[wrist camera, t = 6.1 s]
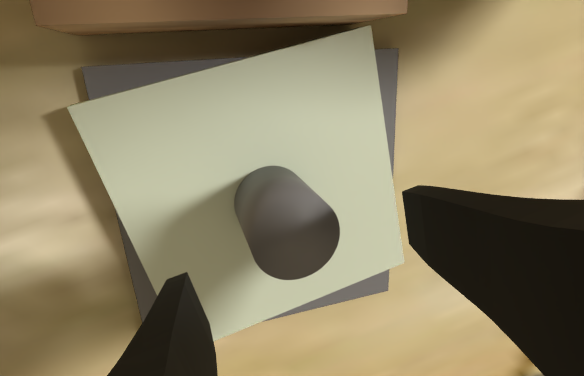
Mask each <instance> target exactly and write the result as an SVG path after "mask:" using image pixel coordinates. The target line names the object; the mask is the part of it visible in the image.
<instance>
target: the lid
mask: <svg viewBox="0 0 584 376" xmlns="http://www.w3.org/2000/svg"><path fill="white" fill-rule="evenodd" d="M67 108H68V110H69V112H70V115H71V117H72V119H73V121H74V123H75V125H76V127H77V129H78V131H79V133H80V135H81V138H82V140H83V142H84V144H85V146H86V148H87V150H88V152H89V154H90V156H91V158H92V161H93V163H94V165H95V167H96V169H97V171H98V173H99V175H100V177H101V179H102V181H103V184H104V186H105V188H106V190H107V192H108V194H109V196H110V198H111V200H112V202H113V204H114V207H115V209H116V211H117V213H118V215H119V217H120V219H121V221H122V223H123V225H124V227H125V230H126V232H127V234H128V236H129V238H130V240H131V242H132V244H133V246H134V248H135V250H136V252H137V255H138V257H139V259H140V261H141V263H142V265H143V267H144V269H145V271H146V273H147V275H148V278H149V280H150V282H151V284H152V286H153V288H154V290H155V292H156V294H157V296H158V294H159V292H160V290H161V289H162V287H163V285H164V283H165V281H166V280H167V279H169V278H172V277H174V276H177V275H180V274H182V273H185V272H187V273H188V275H189V277H190V280H191V282H192V284H193V287H194V289H195V291H196V293H197V296H198V298H199V300H200V303H201V305H202V307H203V309H204V312H205V314H206V316H207V319H208V321H209V323H210V327H211V332H212V337H213V341H216V340H218V339H221V338H223V337H225V336H228V335H230V334H233V333H235V332H238V331H240V330H242V329H245V328H247V327H250V326H252V325H255V324H257V323H259V322H262V321H264V320H267V319H269V318H272V317H274V316H276V315H279V314H281V313H284V312H286V311H289V310H291V309H293V308H296V307H298V306H301V305H303V304H306V303H308V302H310V301H313V300H315V299H318V298H320V297H323V296H325V295H327V294H330V293H332V292H335V291H337V290H340V289H342V288H344V287H347V286H349V285H352V284H354V283H357V282H359V281H362V280H364V279H366V278H369V277H371V276H374V275H376V274H379V273H381V272H383V271H386V270H388V269H391V268H393V267H396V266H398V265H400V264H403V263H404V257H403V249H402V242H401V235H400V228H399V221H398V214H397V207H396V200H395V192H394V185H393V178H392V171H391V164H390V157H389V150H388V143H387V135H386V128H385V121H384V114H383V107H382V100H381V93H380V86H379V79H378V71H377V64H376V57H375V50H374V43H373V36H372V29H371V25H369V26H363V27H359V28H355V29H351V30H347V31H344V32H340V33H336V34H333V35H329V36H325V37H321V38H318V39H314V40H310V41H307V42H303V43H299V44H295V45H292V46H288V47H284V48H281V49H277V50H273V51H269V52H266V53H262V54H258V55H255V56H251V57H247V58H243V59H240V60H236V61H232V62H229V63H225V64H221V65H217V66H214V67H210V68H206V69H203V70H199V71H195V72H191V73H188V74H184V75H180V76H177V77H173V78H169V79H165V80H162V81H158V82H154V83H151V84H147V85H143V86H139V87H136V88H132V89H128V90H125V91H121V92H117V93H113V94H110V95H106V96H102V97H99V98H95V99H91V100H87V101H84V102H80V103H76V104H73V105H71V106H68V107H67Z"/></svg>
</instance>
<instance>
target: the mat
mask: <svg viewBox="0 0 584 376" xmlns="http://www.w3.org/2000/svg"><path fill="white" fill-rule="evenodd" d="M375 57H376V64H377V71H378V79H379V86H380V93H381V100H382V107H383V114H384V121H385V128H386V135H387V143H388V150H389V157H390V164H391V171H392V178H393V165H394V141H395V118H396V95H397V71H398V48H393V49H376V50H375ZM243 58H247V57H240V58H223V59H206V60H189V61H172V62H155V63H138V64H122V65H105V66H88V67H81V68H82V72H83V76H84V81H85V85H86V89H87V93H88V97H89V100H91V99H95V98H99V97H102V96H106V95H110V94H113V93H117V92H121V91H125V90H128V89H132V88H136V87H139V86H143V85H147V84H151V83H154V82H158V81H162V80H165V79H169V78H173V77H177V76H180V75H184V74H188V73H191V72H195V71H199V70H203V69H206V68H210V67H214V66H217V65H221V64H225V63H229V62H232V61H236V60H240V59H243ZM115 210H116V209H115ZM116 215H117V219H118V223H119V227H120V231H121V235H122V240H123V244H124V248H125V252H126V256H127V261H128V265H129V269H130V273H131V277H132V282H133V286H134V290H135V294H136V298H137V302H138V307H139V311H140V315H141V319H142V323H143V321H144V319H145V318H146V316H147V314H148V312H149V311H150V309H151V307H152V305H153V303H154V301H155V300H156V298H157V294H156V292H155V290H154V288H153V286H152V284H151V282H150V280H149V278H148V275H147V273H146V271H145V269H144V267H143V265H142V263H141V261H140V259H139V257H138V255H137V252H136V250H135V248H134V246H133V244H132V242H131V240H130V238H129V236H128V234H127V232H126V230H125V227H124V225H123V223H122V221H121V219H120V217H119V215H118V213H117V211H116ZM388 282H389V269H388V270H386V271H383V272H381V273H379V274H376V275H374V276H371V277H369V278H366V279H364V280H362V281H359V282H357V283H354V284H352V285H349V286H347V287H344V288H342V289H340V290H337V291H335V292H332V293H330V294H327V295H325V296H323V297H320V298H318V299H315V300H313V301H310V302H308V303H306V304H303V305H301V306H298V307H296V308H293V309H291V310H289V311H286V312H284V313H281V314H279V315H276V316H274V317H272V318H269V319H267V320H271V319H275V318H279V317H283V316H287V315H291V314H295V313H299V312H303V311H307V310H312V309H316V308H320V307H324V306H328V305H332V304H336V303H340V302H344V301H348V300H352V299H356V298H360V297H364V296H368V295H372V294H376V293H380V292H385V291H388ZM267 320H264V321H267ZM262 322H263V321H262Z"/></svg>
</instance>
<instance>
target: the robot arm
mask: <svg viewBox="0 0 584 376" xmlns="http://www.w3.org/2000/svg"><path fill="white" fill-rule="evenodd" d="M402 195H403V202H404V209H405V217H406V224H407V231H408V239H409V244H410V245H411V246H412V248H413V249H414V250H415V251H416V252H417V253H418V255H419V256H420V257H421V258H422V259H423V260H424V261H425V262H426V263H427V264H428V265H429V266H430V267H431V268H432V269H433V270H434V271H435V272H437V273H438V274H439V275H440V276H441V277H442V278H443V279H445V280H446V281H447V282H448V283H449V284H451V285H452V286H453V287H454V288H455V289H457V290H458V291H459V292H460V293H461V294H462V295H464V296H465V297H466V298H467V299H468V300H470V301H471V302H472V303H473V304H474V305H476V306H477V307H478V308H479V309H480V310H481V311H483V312H484V313H485V314H486V315H487V316H488V317H489V318H490V319H491V320H492V321H493V322H494V323H495V324H496V325H497V326H498V327H499V328H500V329H501V330H502V331H503V332H504V333H505V334H506V335H507V336H508V337H509V338H510V339H511V340H512V341H513V342H514V343H515V344H516V345H517V346H518V347H519V348H520V350H521V351H522V352H523V353H524V354H525V355H526V356H527V357H528V358H529V359H530V361H531V362H532V363H533V364H534V365H535V366H536V367H537V368H538V369H539V370H540V371H541V373H542V374H543V375H544V376H584V200H556V199H533V198H520V197H510V196H500V195H492V194H484V193H477V192H470V191H463V190H456V189H449V188H442V187H434V186H420V185H419V186H416V187H413V188H410V189H408V190H405V191H402ZM107 376H217V363H216V352H215V347H214V342H213V337H212V332H211V327H210V323H209V321H208V319H207V316H206V314H205V312H204V309H203V307H202V305H201V303H200V300H199V298H198V296H197V293H196V291H195V289H194V287H193V284H192V282H191V280H190V277H189V275H188V273H187V272H185V273H182V274H180V275H177V276H174V277H172V278H169V279H167V280H166V281H165V283H164V285H163V287H162V289H161V290H160V292H159V294H158V296H157V298H156V300H155V301H154V303H153V305H152V307H151V309H150V311H149V312H148V314H147V316H146V318H145V319H144V321H143V323H142V325H141V326H140V328H139V330H138V331H137V333H136V334H135V336H134V337H133V339H132V341H131V342H130V344H129V345H128V347H127V348H126V350H125V351H124V353H123V355H122V356H121V357H120V359H119V360H118V362H117V363H116V365H115V366H114V367H113V369H112V370H111V371H110V373H109V374H108V375H107Z"/></svg>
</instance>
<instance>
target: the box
mask: <svg viewBox="0 0 584 376" xmlns="http://www.w3.org/2000/svg"><path fill="white" fill-rule="evenodd" d="M29 1H30V5H31V8H32V12H33V16H34V20H35V23H36V26H41V27H45V28H49V29H53V30H57V31H61V32H65V33H69V34H73V35H97V34H122V33H148V32H173V31H199V30H224V29H250V28H276V27H301V26H327V25H351V24H356V23H361V22H366V21H371V20H376V19H381V18H387V17H392V16H397V15H402V14H407V5H408V0H29Z"/></svg>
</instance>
